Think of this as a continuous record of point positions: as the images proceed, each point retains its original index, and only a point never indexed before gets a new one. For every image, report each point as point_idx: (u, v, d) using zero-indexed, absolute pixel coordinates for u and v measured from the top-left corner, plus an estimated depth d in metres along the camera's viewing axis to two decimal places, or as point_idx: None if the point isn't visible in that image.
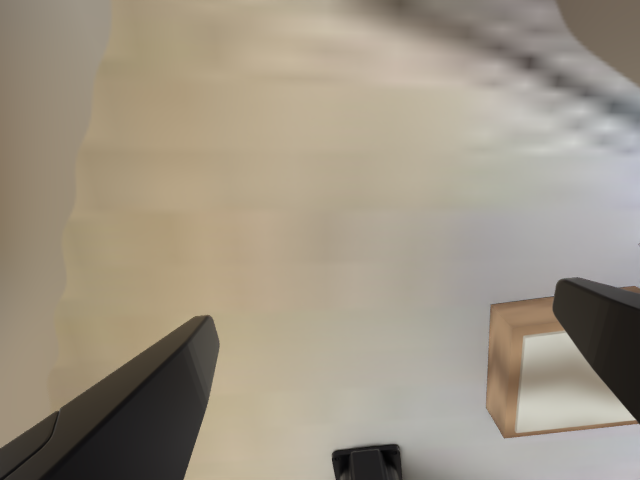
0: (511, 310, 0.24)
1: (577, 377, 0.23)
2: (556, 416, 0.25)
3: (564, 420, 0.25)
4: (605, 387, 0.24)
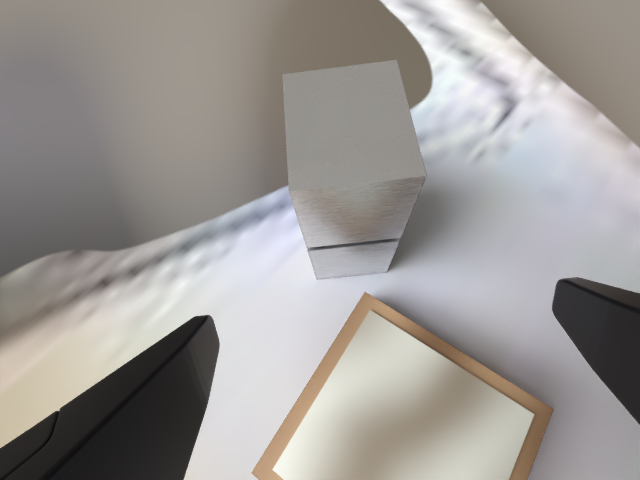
0: None
1: (389, 446, 0.16)
2: None
3: None
4: (434, 421, 0.16)
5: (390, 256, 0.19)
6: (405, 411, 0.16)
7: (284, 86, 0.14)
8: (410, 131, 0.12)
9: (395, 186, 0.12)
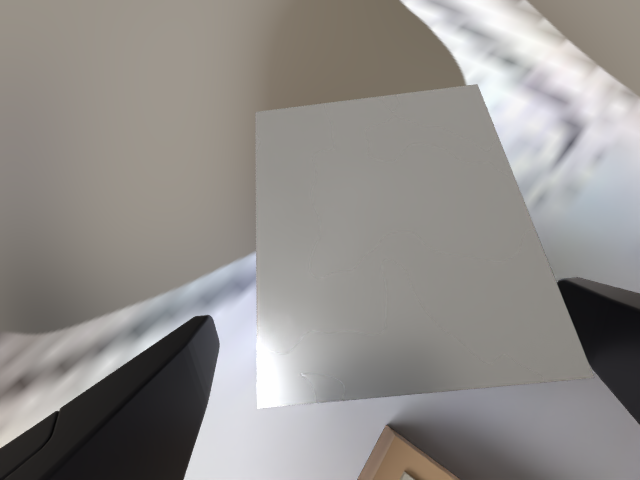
0: None
1: None
2: None
3: None
4: None
5: None
6: None
7: (258, 136, 0.07)
8: (531, 249, 0.05)
9: (506, 383, 0.05)
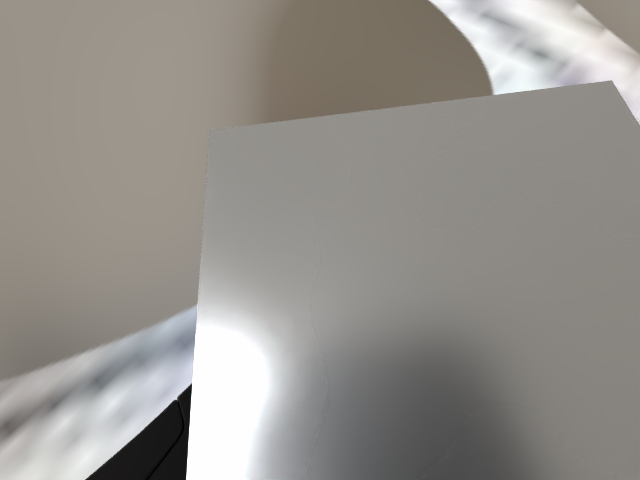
0: None
1: None
2: None
3: None
4: None
5: None
6: None
7: (210, 177, 0.04)
8: None
9: None
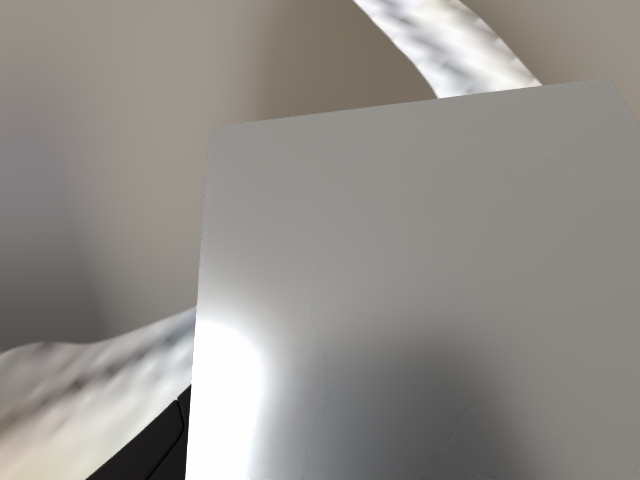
0: None
1: None
2: None
3: None
4: None
5: None
6: None
7: (210, 174, 0.04)
8: None
9: None
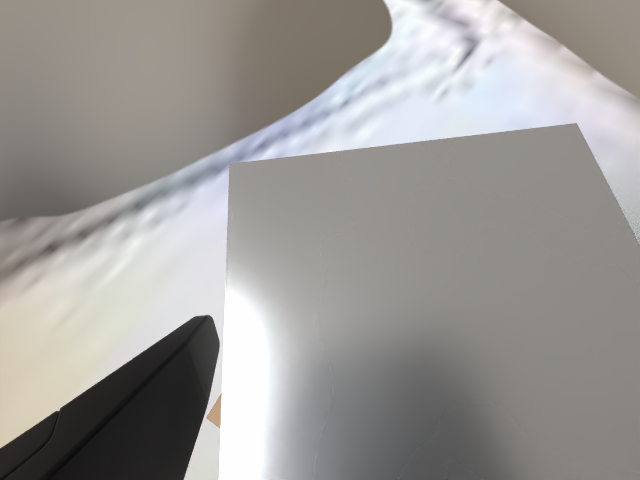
0: None
1: None
2: None
3: None
4: None
5: None
6: None
7: (232, 207, 0.04)
8: None
9: None
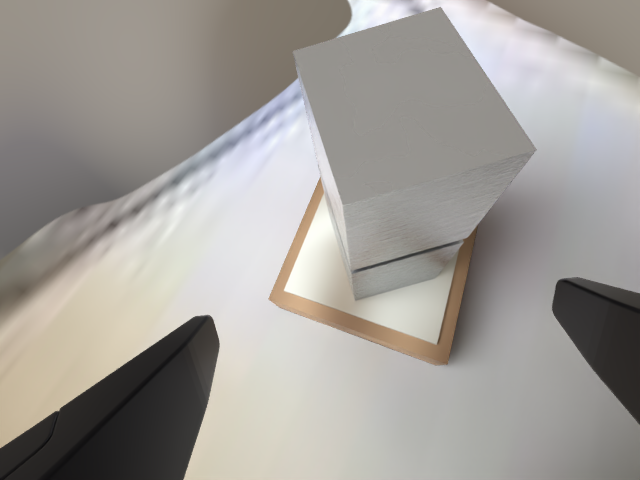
0: None
1: None
2: (425, 286, 0.19)
3: (437, 278, 0.19)
4: None
5: (446, 261, 0.16)
6: None
7: (299, 65, 0.10)
8: (491, 93, 0.09)
9: (488, 172, 0.08)
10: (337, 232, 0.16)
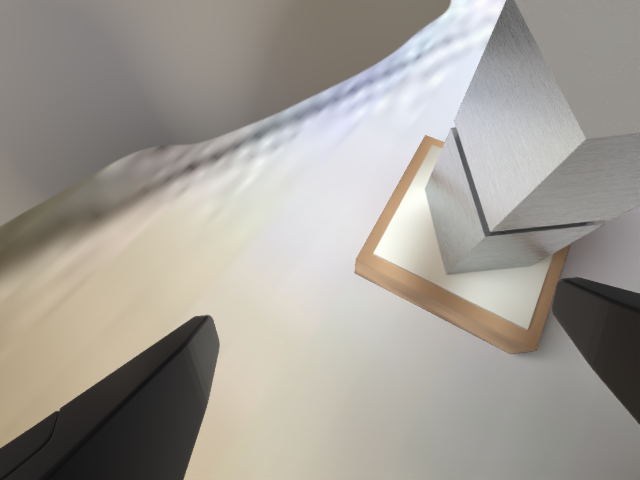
0: None
1: None
2: (519, 272, 0.19)
3: (532, 266, 0.19)
4: None
5: (564, 245, 0.16)
6: None
7: (518, 5, 0.10)
8: None
9: None
10: (460, 198, 0.16)
